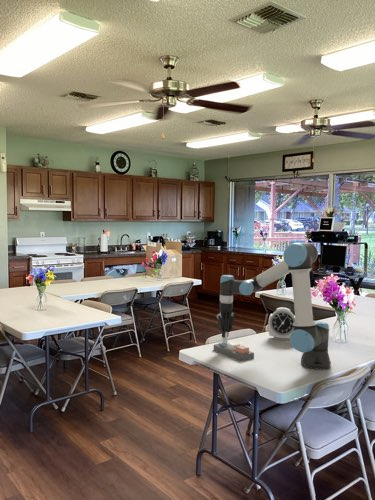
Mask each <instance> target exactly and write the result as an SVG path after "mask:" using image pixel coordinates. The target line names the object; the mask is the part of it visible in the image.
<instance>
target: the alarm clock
mask: <svg viewBox="0 0 375 500" xmlns="http://www.w3.org/2000/svg"><path fill="white" fill-rule="evenodd" d="M294 322H295V314H294V313H293V312H292V311H291V308H287V307H282V306H281V307H277V308H276V310H275V311H273V313H270V315H269V318H268V326H267V327H268V329H267V330H268V335H269V336H270V337H273V340H276V341H288V342H290V335H291V333H292V332H293V323H294Z"/></svg>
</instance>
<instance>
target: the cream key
mask: <svg viewBox="0 0 375 500" xmlns="http://www.w3.org/2000/svg"><path fill="white" fill-rule="evenodd" d="M237 346H241V344H240V343H238V342H235V341H231V342H228V343H227V349H230V350H232V351H234V350H236V347H237Z"/></svg>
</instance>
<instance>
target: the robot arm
mask: <svg viewBox="0 0 375 500" xmlns="http://www.w3.org/2000/svg"><path fill="white" fill-rule="evenodd" d="M282 256H283V257H282V258H283V260H282V261H280V262H278V263H276V264H275V265H273V266H271V267H269V268H268V269H266V270H264V271H263V272H261V273H260V274H258V275H256V276H255V277H252V278H250V279H244V280H239V279H235V278H234V275H232V274H222V275H221V276H220V282H219V289H220V290H219V313H218V314H216V315H215V317H216V320H217V326H218V331H220V332H221V339H222V340H221V341H222V342H223V343H225V344H226V343H227V342H228V339H229V338H228V337H229V333H230V332H231V331H232V329H233V324H234V320H235V317H236V313H235V312H233V308H234V307H233V306H234V304H233V302H234V294H237V295H243V296H250V295H252V293H257V292H259V291H261V290H263V288H265V287H267V286H268V285H270V284H272V283H274V282H275V281H278V280H280V279H281V278H282V277H285V276H287V275H288V274H291V281H292V282H291V283H292V284H291V285H292V293H293V294H292V295H293V296H292V297H293V307H294V316H295V322H294V323H293V332H292V333H291V335H290V341H289V342H290V344H291V346H292V347H293V348H294V349H295V351H298V352H299V353H302V354H301V357H300V364H301V366H303V367H306V368H309V369H314V370H327V369H330V368H331V366H332V365H331V364H332V363H331V360H330V355H329V337H330V324H329V323H327V322H324V321H319V320H314V315H313V313H314V312H313V303H312V291H311V290H312V289H311V278H310V272H311V271H312V270H313V263H315V262H316V260H317V259H318V256H319V251H318V248H317V246H315V245H314V244H313V243H311V242H307V241H306V242H294V243H290V244H289V245H287V246H286V247H285V249H284V251H283V255H282Z"/></svg>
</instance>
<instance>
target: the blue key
mask: <svg viewBox="0 0 375 500" xmlns="http://www.w3.org/2000/svg"><path fill="white" fill-rule="evenodd" d="M227 343H229V342H228V341H227ZM227 343H226V344H225V343H223V342H218V344H219V345H220V346H222V347H227Z"/></svg>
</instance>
